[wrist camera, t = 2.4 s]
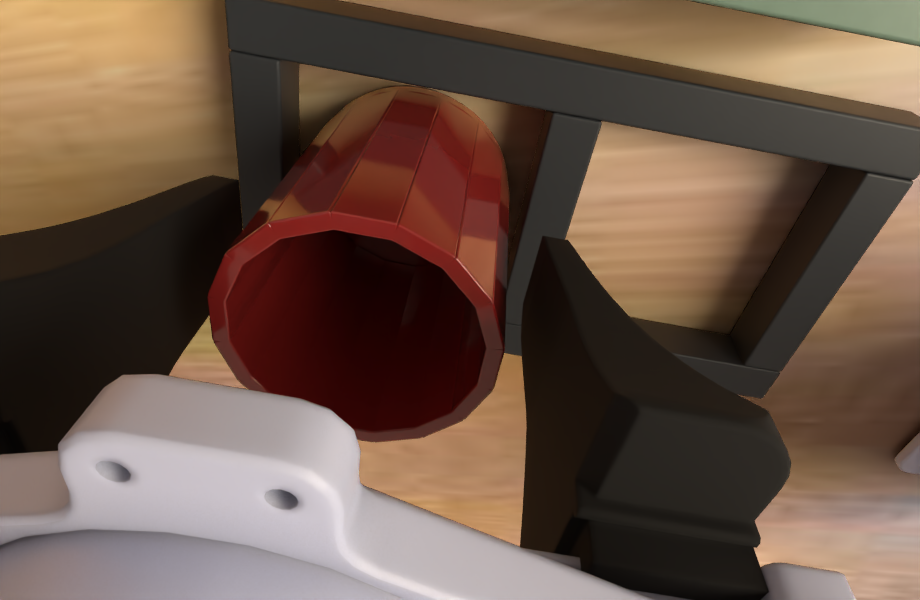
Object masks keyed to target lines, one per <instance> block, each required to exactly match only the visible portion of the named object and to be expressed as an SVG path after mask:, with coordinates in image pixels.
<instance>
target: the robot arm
mask: <svg viewBox="0 0 920 600" xmlns="http://www.w3.org/2000/svg"><path fill="white" fill-rule="evenodd" d="M242 231H243V226H242V214H241V201H240V189H239V180H236V179H230V178H225V177H219V176H214V175H212V176H208V177H204V178H200V179H197V180H194V181H191V182H188V183H186V184H183V185H180V186H177V187H175V188H172V189H169V190H167V191H164V192H161V193H159V194H156V195H153V196H150V197H148V198H145V199H142V200H140V201H137V202H134V203H131V204H128V205H125V206H122V207H119V208H115V209H112V210H109V211H106V212H103V213H100V214H97V215H94V216H90V217H87V218H83V219H79V220H76V221H72V222H68V223H63V224H59V225H55V226H51V227H46V228H41V229H36V230H30V231H25V232H19V233H13V234H7V235H1V236H0V600H856V599H855V596H854V594H853V592H852V590H851V588H850V586H849V584H848V582H847V579H846V577H845V575H844V574H841V573H839V572H836V571H830V570H824V569H818V568H812V567H806V566H800V565H794V564H788V563H771V564H767V565H764V566H762V567H760V565H759V562H758V559H757V557H756V554H755V551H754V548H753V547H756V548H757V546H758V545H759V544H760V539H761V538H760V535H759V532H758V530H757V527H756V524H755V521H754V520H755V519H756V518H757V517H758V516H759V515H760V513H761V512H762V511H763V510H764V509H765V508H766V506H767V505H768V504H769V503H770V502H771V500H772V499H773V498H774V497H775V496H776V495H777V493H778V492H779V491H780V490H781V489H782V487H783V485H784V484H785V482H786V480H787V479H788V477H789V474H790V467H791V461H790V458H789V454H788V451H787V449H786V447H785V445H784V442H783V440H782V438H781V436H780V434H779V432H778V430H777V428H776V426H775V423H774V421H773V419H772V417H771V415H770V414H769V412H768V411H767V410H766V409H764V408H762V407H760V406H758V405H756V404H754V403H752V402H750V401H748V400H746V399H744V398H743V397H741V396H739V395H737V394H735V393H733V392H731V391H729V390H727V389H725V388H724V387H722V386H720V385H719V384H717V383H715V382H714V381H712V380H710V379H709V378H707V377H706V376H704V375H702V374H701V373H699V372H698V371H696V370H695V369H693V368H692V367H690V366H689V365H687V364H686V363H684V362H683V361H681V360H680V359H679V358H677V357H676V356H675V355H673V354H672V353H671V352H669V351H668V350H667V349H665V348H664V347H663V346H662V345H660V344H659V343H658V342H657V341H655V340H654V339H653V338H652V337H651V336H650V335H648V334H647V333H646V332H645V331H644V330H643V329H642V328H641V327H640V326H639V325H638V324H636V323H635V322H634V321H633V320H632V319H631V318H630V317H629V316H628V315H627V314H626V313H625V312H624V311H623V309H622V308H621V307H620V306H619V305H618V304H617V303H616V302H615V301H614V300H613V298H612V297H611V296H610V295H609V294H608V293H607V291H606V290H605V289H604V288H603V287H602V285H601V284H600V283H599V281H598V280H597V279H596V278H595V276H594V275H593V274H592V272H591V271H590V270H589V268H588V267H587V266H586V264H585V263H584V261H583V260H582V259H581V257H580V256H579V254H578V253H577V252H576V250H575V249H574V248H573V246H572V245H571V243H570V242H569V241H568V240H564V239H559V238H553V237H548V236H542V239H541V243H540V246H539V250H538V253H537V256H536V260H535V263H534V267H533V270H532V274H531V277H530V281H529V284H528V288H527V291H526V295H525V298H524V302H523V309H522V323H521V350H522V364H523V376H524V389H525V402H526V421H527V432H526V458H525V478H524V497H523V512H522V527H521V542H520V547H519V546H517V545H514V544H512V543H509V542H506V541H504V540H501V539H499V538H496V537H494V536H491V535H489V534H486V533H484V532H481V531H478V530H476V529H473V528H471V527H468V526H466V525H463V524H461V523H458V522H456V521H453V520H450V519H448V518H445V517H443V516H440V515H438V514H435V513H433V512H430V511H428V510H425V509H422V508H420V507H417V506H415V505H412V504H410V503H407V502H405V501H402V500H400V499H397V498H394V497H392V496H389V495H387V494H384V493H382V492H379V491H377V490H374V489H372V488H369V487H366V486H364V485H362V484H361V483H360V478H359V464H360V453H361V451H360V448H359V444H358V441H357V438H356V435H355V432H354V430H353V429H352V428H351V427H350V426H349V425H348V424H347V423H346V422H344V421H343V420H342V419H341V418H340V417H339V416H338V415H336V414H335V413H334V412H333V411H332V410H331V409H329V408H326V407H323V406H321V405H318V404H315V403H312V402H309V401H306V400H304V399H300V398H295V397H289V396H283V395H277V394H271V393H265V392H259V391H254V390H248V389H242V388H236V387H230V386H224V385H219V384H213V383H207V382H201V381H195V380H189V379H183V378H178V377H172V376H169V374H170V372H171V370H172V368H173V367H174V365H175V363H176V362H177V360H178V359H179V357H180V356H181V354H182V352H183V351H184V350H185V348H186V347H187V345H188V344H189V343H190V341H191V340H192V338H193V337H194V336H195V334H196V333H197V331H198V330H199V329H200V327H201V326H202V324H203V323H204V322H205V320H206V319H207V317H208V316H209V308H208V301H207V296H208V291H209V289H210V287H211V284H212V282H213V279H214V277H215V275H216V272H217V270H218V268H219V265H220V263H221V261H222V258H223V256H224V254H225V253H226V251H227V250H228V249H229V248H230V246H231V245H232V244H233V242H234V241H235V240H236V239H237V237H238V236H239V235H240V234H241V232H242ZM895 462H896V464H897V465H898V467H899V469H900V470H901V471H903V472H906V473H912V474H918V475H920V432H919V433H918V434H917V435H916V436H915V437H914V438H913V439H912V440H911V441H910V442H909V443H908V444H907V445H906V446H905V447H904V448H903V449H902V450H901V451H900V452H899V453H898V455H897V456H896V458H895Z"/></svg>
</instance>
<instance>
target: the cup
mask: <svg viewBox="0 0 920 600" xmlns="http://www.w3.org/2000/svg"><path fill="white" fill-rule="evenodd" d="M509 197H510V191H509V186H508V175H507V167H506V164H505V160H504V156H503V154H502V151H501V149H500V146H499V144H498V142H497V141H496V139H495V137H494V136H493V134H492V132H491V131H490V130H489V128H488V127H487V126H486V125H485V123H484V122H483V121H482V120H481V119H480V118H479V117H478V116H477V115H476V114H475V113H474V112H472V111H471V110H470V109H468V108H467V107H466V106H464V105H463V104H462V103H460V102H458V101H456V100H455V99H453V98H451V97H449V96H447V95H444V94H442V93H439V92H437V91H433V90H429V89H425V88H419V87H411V86H395V87H388V88H382V89H378V90H375V91H372V92H369V93H366V94H364V95H362V96H360V97H358V98H356V99H355V100H353V101H352V102H350V103H349V104H347V105H346V106H345V107H344V108H343V109H341V110H340V111H339V112H338V113H337V114H336V116H335V117H333V118H332V119H331V120H330V121H328V122H327V124H326V125H325V126H324V127H323V129H322V130H321V131H320V133H319V134H318V135H317V136H316V138H315V139H314V140H313V142H312V143H311V144H310V145H309V147H308V148H307V149H306V150H305V152H304V153H303V154H302V156H301V157H300V158H299V159H298V161H297V162H296V163H295V165H294V166H293V167H292V168H291V170H290V171H289V172H288V173H287V175H286V176H285V177H284V179H283V180H282V181H281V182H280V184H279V185H278V186H277V188H276V189H275V190H274V191H273V193H272V194H271V195H270V196H269V198H268V199H267V200H266V202H265V203H264V204H263V205H262V207H261V208H260V209H259V211H258V212H257V213H256V214H255V216H254V217H253V218H252V219H251V221H250V222H249V223H248V225H247V226H246V227H245V228H244V230H243V231H242V232H241V234H240V235H239V236H238V237H237V239H236V240H235V241H234V242H233V244H232V245H231V246H230V248H229V249H228V250H227V251H226V253H225V254H224V256H223V258H222V261H221V263H220V265H219V268H218V270H217V272H216V275H215V277H214V279H213V282H212V284H211V287H210V289H209V291H208V296H207V301H208V308H209V316H210V323H211V330H212V338H213V340H214V343H215V345H216V347H217V348H218V350H219V351H220V353H221V354H222V356H223V358H224V359H225V361H226V362H227V364H228V366H229V367H230V369H231V370H232V372H233V373H234V375H235V377H236V378H237V380H238V381H239V382H240V383H241V384H242V385H244V386H245V387H246V388H247V389H248V390H254V391H259V392H265V393H271V394H277V395H283V396H289V397H295V398H300V399H304V400H306V401H309V402H312V403H315V404H318V405H321V406H323V407H326V408H329V409H331V410H332V411H333V412H334V413H335V414H336V415H338V416H339V417H340V418H341V419H342V420H343V421H344V422H346V423H347V424H348V425H349V426H350V427H351V428H352V429H353V430H354V432H355V435H356V438H357V440H362V441H368V442H385V441H396V440H407V439H418V438H422V437H426V436H428V435H431V434H433V433H435V432H438V431H440V430H442V429H445V428H447V427H450V426H452V425H454V424H457V423H459V422H461V421H463V420H464V419H466V418H467V416H468V415H469V414H470V413H471V412H472V411H473V410H474V409H475V408H476V407H477V406H478V405H479V404H480V403H481V402H482V401H483V400H484V399H485V398H486V397H487V396H488V395H489V394H490V393H491V392H492V391H493V389H494V387H495V383H496V380H497V376H498V372H499V369H500V365H501V362H502V358H503V355H504V351H505V329H506V296H507V263H508V230H509Z"/></svg>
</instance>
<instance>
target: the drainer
mask: <svg viewBox="0 0 920 600" xmlns="http://www.w3.org/2000/svg"><path fill="white" fill-rule="evenodd" d="M225 9H226V22H227V34H228V47H229V49H231V51H230V52H229V59H230V72H231V84H232V97H233V109H234V122H235V134H236V147H237V159H238V171H239V184H240V196H241V209H242V221H243V230H244V228H245V227H246V226H247V225H248V223H249V222H250V221H251V219H252V218H253V217H254V216H255V214H256V213H257V212H258V211H259V209H260V208H261V207H262V205H263V204H264V203H265V202H266V200H267V199H268V198H269V196H270V195H271V194H272V193H273V191H274V190H275V189H276V188H277V186H278V185H279V184H280V182H281V181H282V180H283V179H284V177H285V176H286V175H287V173H288V172H289V171H290V170H291V168H292V167H293V166H294V165H295V163H296V162H297V161H298V159H299V158H300V148H299V63H301V64H306V65H312V66H317V67H322V68H327V69H333V70H338V71H343V72H348V73H354V74H359V75H364V76H369V77H375V78H380V79H385V80H390V81H396V82H401V83H406V84H411V85H416V86H422V87H427V88H432V89H437V90H443V91H448V92H453V93H458V94H464V95H469V96H474V97H479V98H485V99H490V100H495V101H500V102H506V103H511V104H516V105H521V106H527V107H532V108H537V109H542V110H546V111H545V115H544V119H543V123H542V127H541V131H540V135H539V139H538V143H537V147H536V151H535V155H534V158H533V162H532V166H531V170H530V174H529V178H528V182H527V186H526V190H525V194H524V198H523V202H522V206H521V210H520V214H519V218H518V222H517V226H516V230H515V234H514V237H513V241H512V245H511V249H510V253H509V257H508V263H507V296H506V329H505V351H504V353H507V354H513V355H518V356H522V350H521V323H522V309H523V302H524V298H525V295H526V291H527V288H528V284H529V281H530V277H531V274H532V270H533V267H534V263H535V260H536V256H537V253H538V250H539V246H540V243H541V239H542V236H548V237H553V238H559V239H564V240H565V238H566V235H567V231H568V228H569V225H570V222H571V219H572V216H573V213H574V209H575V206H576V203H577V200H578V197H579V194H580V191H581V187H582V184H583V181H584V178H585V175H586V172H587V169H588V165H589V162H590V159H591V156H592V153H593V150H594V146H595V143H596V140H597V137H598V134H599V131H600V128H601V124H602V123H601V121H605V122H610V123H616V124H621V125H626V126H631V127H637V128H642V129H647V130H652V131H658V132H663V133H668V134H673V135H679V136H684V137H689V138H694V139H699V140H705V141H710V142H715V143H720V144H726V145H731V146H736V147H741V148H747V149H752V150H757V151H762V152H768V153H773V154H778V155H783V156H789V157H794V158H799V159H804V160H810V161H815V162H820V163H825V164H831V165H830V166H829V168H828V170H827V171H826V173H825V175H824V176H823V178H822V180H821V181H820V183H819V185H818V187H817V188H816V190H815V192H814V193H813V195H812V197H811V198H810V200H809V202H808V203H807V205H806V207H805V209H804V210H803V212H802V214H801V215H800V217H799V219H798V220H797V222H796V224H795V225H794V227H793V229H792V230H791V232H790V234H789V236H788V237H787V239H786V241H785V242H784V244H783V246H782V247H781V249H780V251H779V252H778V254H777V256H776V257H775V259H774V261H773V263H772V264H771V266H770V268H769V269H768V271H767V273H766V274H765V276H764V278H763V279H762V281H761V283H760V285H759V286H758V288H757V290H756V291H755V293H754V295H753V296H752V298H751V300H750V301H749V303H748V305H747V306H746V308H745V310H744V312H743V313H742V315H741V317H740V318H739V320H738V322H737V323H736V325H735V327H734V328H733V330H732V332H731V334H730V335H724V334H719V333H713V332H708V331H702V330H697V329H691V328H686V327H680V326H675V325H669V324H664V323H658V322H652V321H647V320H641V319H636V318H631V319H632V320H633V321H634V322H635V323H636V324H638V325H639V326H640V327H641V328H642V329H643V330H644V331H645V332H646V333H647V334H648V335H650V336H651V337H652V338H653V339H654V340H655V341H657V342H658V343H659V344H660V345H662V346H663V347H664V348H665V349H667V350H668V351H669V352H671V353H672V354H673V355H675V356H676V357H677V358H679V359H680V360H681V361H683V362H684V363H686V364H687V365H689V366H690V367H692V368H693V369H695V370H696V371H698V372H699V373H701V374H702V375H704V376H706V377H707V378H709V379H710V380H712V381H714V382H715V383H717V384H719V385H720V386H722V387H724V388H725V389H727V390H729V391H731V392H733V393H735V394H738V395H743V396H749V397H755V398H760V399H761V398H763V397H764V396H765V394H766V393H767V391H768V390H769V388H770V387H771V386H772V384H773V383H774V381H775V380H776V378H777V377H778V376H779V374H780V371H782V370H783V368H784V367H785V365H786V364H787V363H788V361H789V360H790V358H791V357H792V355H793V354H794V353H795V351H796V350H797V348H798V347H799V345H800V344H801V343H802V341H803V340H804V338H805V337H806V335H807V334H808V333H809V331H810V330H811V328H812V327H813V325H814V324H815V323H816V321H817V320H818V318H819V317H820V315H821V314H822V313H823V311H824V310H825V308H826V307H827V305H828V304H829V303H830V301H831V300H832V298H833V297H834V295H835V294H836V293H837V291H838V290H839V288H840V287H841V285H842V284H843V283H844V281H845V280H846V278H847V277H848V275H849V274H850V273H851V271H852V270H853V268H854V267H855V265H856V264H857V263H858V261H859V260H860V258H861V257H862V255H863V254H864V253H865V251H866V250H867V248H868V247H869V245H870V244H871V243H872V241H873V240H874V238H875V237H876V235H877V234H878V233H879V231H880V230H881V228H882V227H883V225H884V224H885V223H886V221H887V220H888V218H889V217H890V216H891V214H892V213H893V211H894V210H895V208H896V207H897V206H898V204H899V203H900V201H901V200H902V198H903V197H904V196H905V194H906V193H907V191H908V190H909V188H910V187H911V186H912V184H913V181H912V180H914V179H916V178H917V176H918V175H919V174H920V117H919V116H917V115H916V114H914V113H912V112H909V111H904V110H899V109H894V108H889V107H884V106H879V105H873V104H868V103H863V102H858V101H853V100H848V99H843V98H837V97H832V96H827V95H822V94H817V93H812V92H807V91H801V90H796V89H791V88H786V87H781V86H776V85H771V84H765V83H760V82H755V81H750V80H745V79H740V78H735V77H729V76H724V75H719V74H714V73H709V72H704V71H699V70H693V69H688V68H683V67H678V66H673V65H668V64H663V63H657V62H652V61H647V60H642V59H637V58H632V57H627V56H621V55H616V54H611V53H606V52H601V51H596V50H591V49H585V48H580V47H575V46H570V45H565V44H560V43H555V42H549V41H544V40H539V39H534V38H529V37H524V36H519V35H513V34H508V33H503V32H498V31H493V30H488V29H483V28H477V27H472V26H467V25H462V24H457V23H452V22H447V21H441V20H436V19H431V18H426V17H421V16H416V15H411V14H405V13H400V12H395V11H390V10H385V9H380V8H375V7H369V6H364V5H359V4H354V3H349V2H344V1H339V0H225Z"/></svg>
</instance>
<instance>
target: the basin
mask: <svg viewBox="0 0 920 600" xmlns="http://www.w3.org/2000/svg"><path fill="white" fill-rule="evenodd" d="M688 1H693V2H698V3H703V4H708V5H713V6H718V7H723V8H728V9H733V10H739V11H744V12H749V13H754V14H759V15H764V16H769V17H774V18H779V19H784V20H789V21H794V22H799V23H804V24H809V25H814V26H819V27H824V28H829V29H834V30H840V31H845V32H850V33H855V34H860V35H865V36H870V37H875V38H880V39H885V40H890V41H895V42H900V43H905V44H910V45H915V46H920V0H688Z"/></svg>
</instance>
